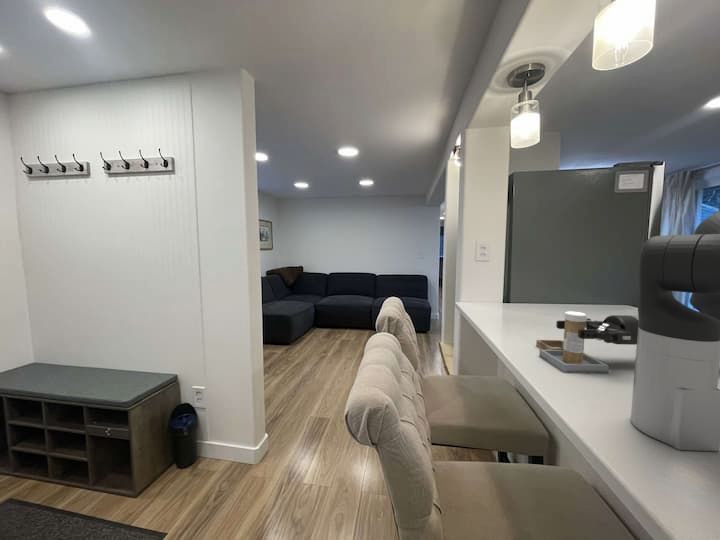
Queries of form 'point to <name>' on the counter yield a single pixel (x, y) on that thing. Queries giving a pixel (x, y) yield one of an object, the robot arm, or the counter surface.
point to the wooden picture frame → (549, 344)
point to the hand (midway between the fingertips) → (567, 329)
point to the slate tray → (587, 367)
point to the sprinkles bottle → (573, 337)
